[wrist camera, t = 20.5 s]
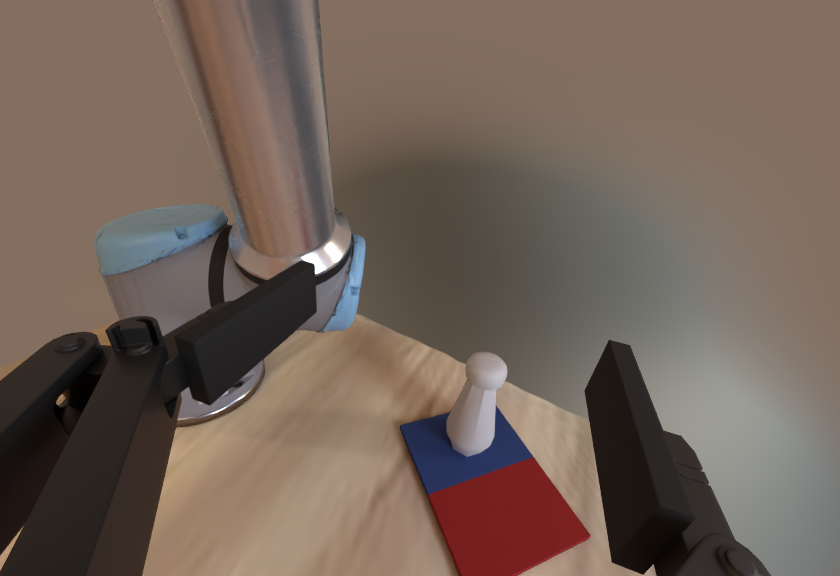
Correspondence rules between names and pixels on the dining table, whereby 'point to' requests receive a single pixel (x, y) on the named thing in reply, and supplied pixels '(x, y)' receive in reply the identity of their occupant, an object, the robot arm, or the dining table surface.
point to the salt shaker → (476, 405)
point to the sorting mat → (491, 500)
